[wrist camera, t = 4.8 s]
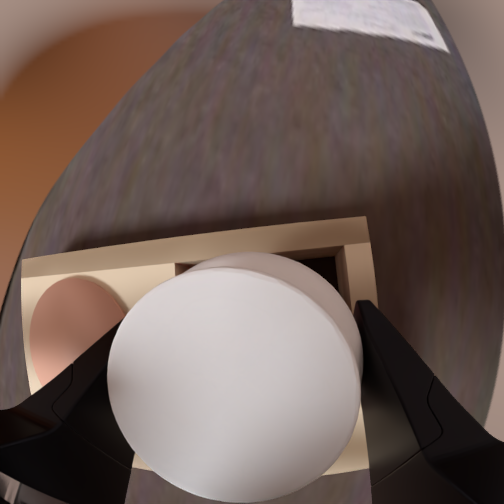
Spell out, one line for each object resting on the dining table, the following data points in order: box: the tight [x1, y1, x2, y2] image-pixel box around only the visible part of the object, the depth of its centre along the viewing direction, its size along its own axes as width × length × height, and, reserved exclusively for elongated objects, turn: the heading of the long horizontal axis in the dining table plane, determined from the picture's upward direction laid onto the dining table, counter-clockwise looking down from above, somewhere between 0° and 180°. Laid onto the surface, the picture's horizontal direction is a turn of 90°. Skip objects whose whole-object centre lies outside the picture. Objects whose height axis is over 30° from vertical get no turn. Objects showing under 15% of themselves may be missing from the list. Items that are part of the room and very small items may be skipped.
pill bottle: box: [107, 252, 363, 503], centre depth 10 cm, size 6×6×11 cm
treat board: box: [21, 216, 378, 475], centre depth 14 cm, size 12×20×3 cm, turn 95°
